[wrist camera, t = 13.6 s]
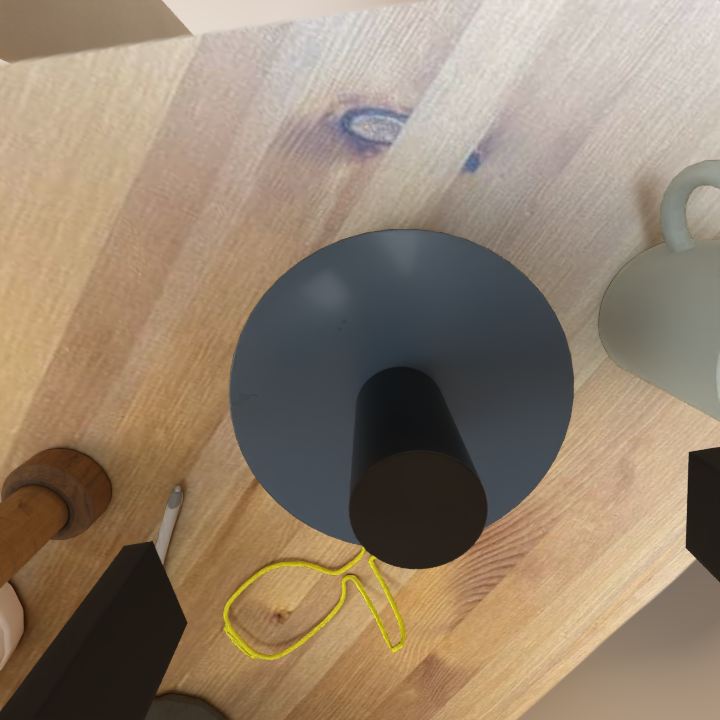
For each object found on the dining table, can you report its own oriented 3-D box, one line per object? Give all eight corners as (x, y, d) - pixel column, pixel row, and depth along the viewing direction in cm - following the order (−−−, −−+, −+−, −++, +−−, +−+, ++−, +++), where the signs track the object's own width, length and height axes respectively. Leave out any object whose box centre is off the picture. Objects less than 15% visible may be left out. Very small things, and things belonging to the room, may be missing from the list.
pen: (190, 481, 32) (182, 492, 31) (151, 615, 36) (143, 629, 35) (177, 477, 32) (168, 487, 31) (140, 611, 36) (131, 626, 35)
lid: (193, 269, 19) (56, 300, 11) (550, 193, 18) (711, 161, 9) (282, 553, 23) (234, 733, 15) (572, 508, 22) (695, 676, 14)
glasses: (430, 423, 31) (441, 457, 26) (516, 508, 33) (540, 554, 28) (207, 609, 36) (183, 664, 31) (291, 673, 38) (281, 733, 33)
